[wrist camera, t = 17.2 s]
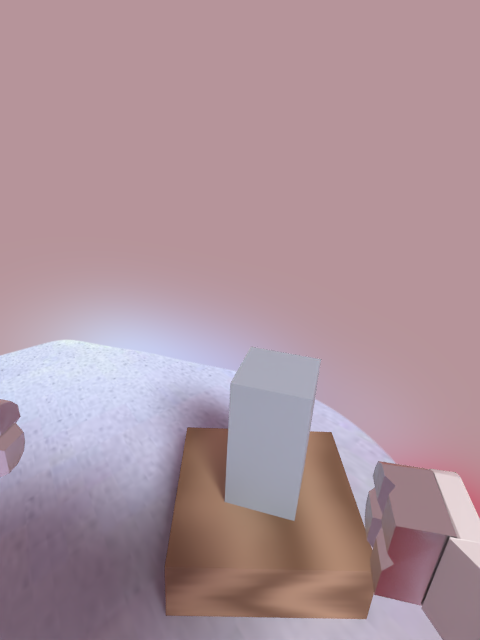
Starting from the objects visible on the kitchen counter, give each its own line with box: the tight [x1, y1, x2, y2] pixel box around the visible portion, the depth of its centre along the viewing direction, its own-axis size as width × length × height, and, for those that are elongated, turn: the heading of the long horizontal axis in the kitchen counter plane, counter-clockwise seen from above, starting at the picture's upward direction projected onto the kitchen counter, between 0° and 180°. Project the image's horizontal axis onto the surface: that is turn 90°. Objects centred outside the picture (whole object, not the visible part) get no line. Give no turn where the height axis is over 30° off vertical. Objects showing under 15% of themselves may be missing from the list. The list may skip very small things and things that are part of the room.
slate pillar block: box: [225, 347, 321, 521], centre depth 28 cm, size 5×5×10 cm
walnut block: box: [165, 427, 374, 619], centre depth 31 cm, size 13×13×5 cm
